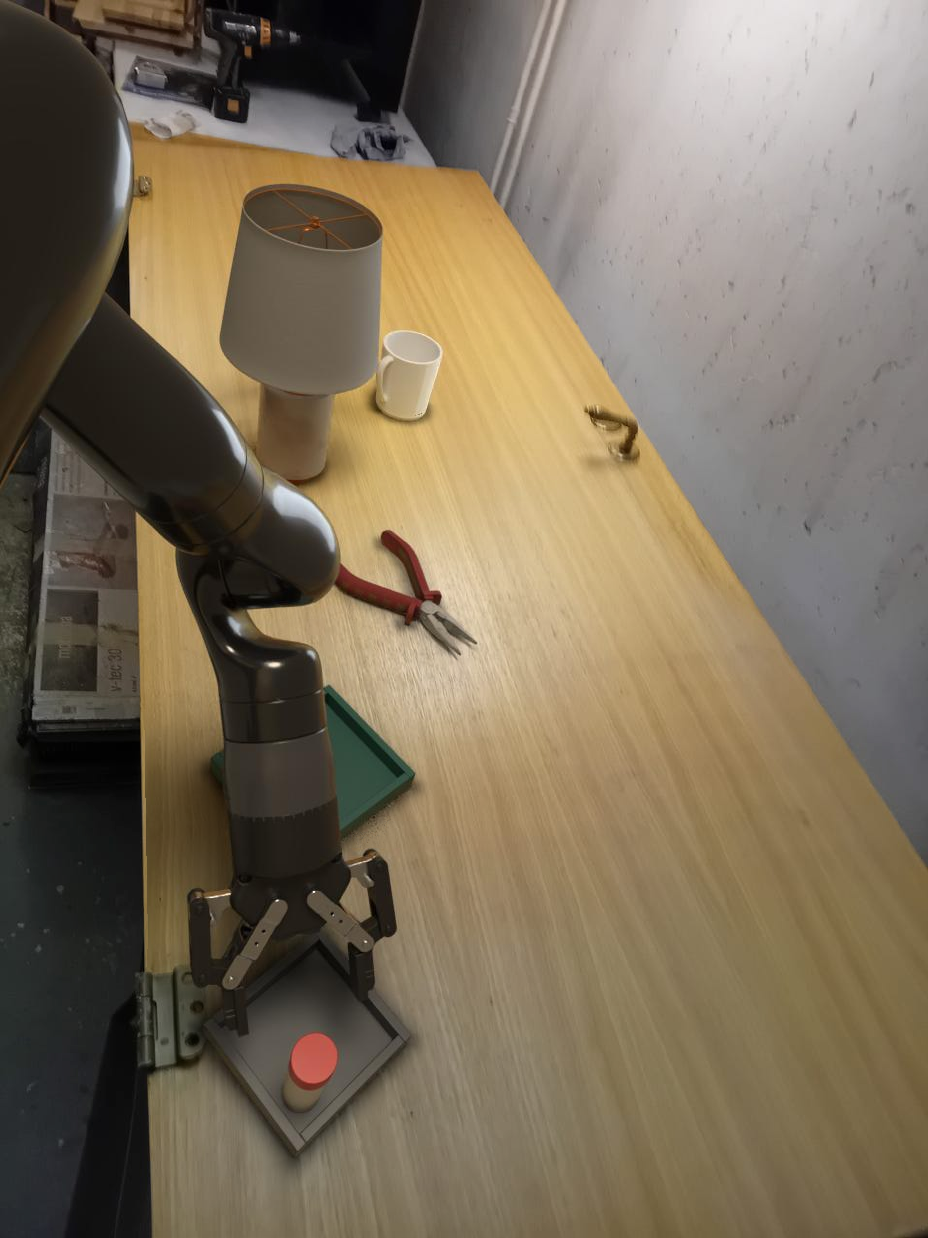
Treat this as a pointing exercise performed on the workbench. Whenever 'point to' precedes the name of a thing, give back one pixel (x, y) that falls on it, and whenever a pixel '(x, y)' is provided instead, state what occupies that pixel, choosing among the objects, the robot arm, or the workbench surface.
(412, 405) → the mug
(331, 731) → the tray far
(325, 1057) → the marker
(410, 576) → the pliers
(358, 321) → the lamp
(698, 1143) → the workbench surface
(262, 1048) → the tray near
